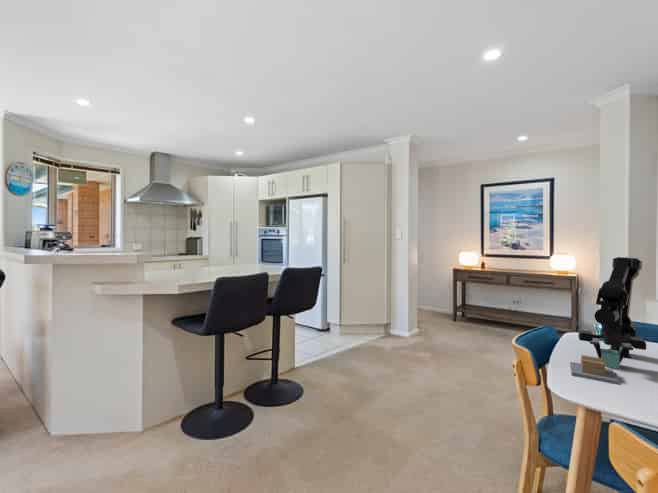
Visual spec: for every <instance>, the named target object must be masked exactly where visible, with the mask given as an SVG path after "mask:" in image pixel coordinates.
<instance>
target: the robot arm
mask: <svg viewBox="0 0 658 493" xmlns="http://www.w3.org/2000/svg"><path fill="white" fill-rule="evenodd" d="M642 269H643V261H642V260H640V259H639V258H638V257H626V256H625V257H621V256H618V257H615V258H612V270H611V273H610V277H609V279H608V280H606V281H604V282H603V283H602V285H601V287H599V289H598V293H597V296H596V302H595V305H597V306H598V305H599V306H600V308H599V309H598V310H596V312H594V320H595V321H596V322H597V324H600V325H601V327H600V329H601V335H596V334H597V333H593V332H592V330H583V329H579V330H578V336H577V337H578V340H579V341H581V342H582V341H583V342H588V343H589V344H591V345H593V347H594V348H595V351H596V354H597V358H601V352H600V348H601V343H600V341H601V342H602V341H604V342H603V343H604V344H605V345H606V346H610V348H607V349H608V350H615V351H618V353H619V355H620V362H619V365H620V364H621V362H622V361H623V358H630V359H631V358H632V357H633V356H632V355H631V353H630V351H634V349H636V350H644V351H646V350H647V342H646V341H645V340H644V339H643V337H638V335H637V331H636V329H635V327H634V323H633V321H632V319H631V317H630V310H631V309H630V308H631V301H632V300H631V298H632V292H633V284H634V280H635V279H636V278H638V277H639V275H640V271H642ZM632 359H633V358H632Z"/></svg>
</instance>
